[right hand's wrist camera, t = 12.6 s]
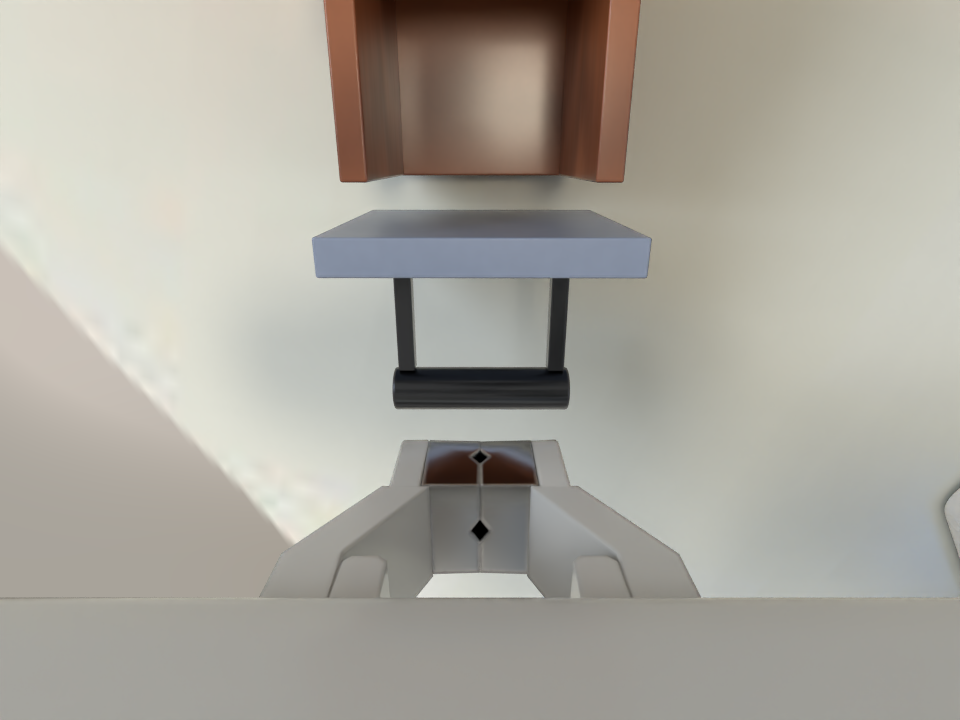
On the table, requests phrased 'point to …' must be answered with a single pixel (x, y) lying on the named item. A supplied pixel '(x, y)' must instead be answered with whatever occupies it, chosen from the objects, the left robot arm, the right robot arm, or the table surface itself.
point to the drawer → (481, 161)
